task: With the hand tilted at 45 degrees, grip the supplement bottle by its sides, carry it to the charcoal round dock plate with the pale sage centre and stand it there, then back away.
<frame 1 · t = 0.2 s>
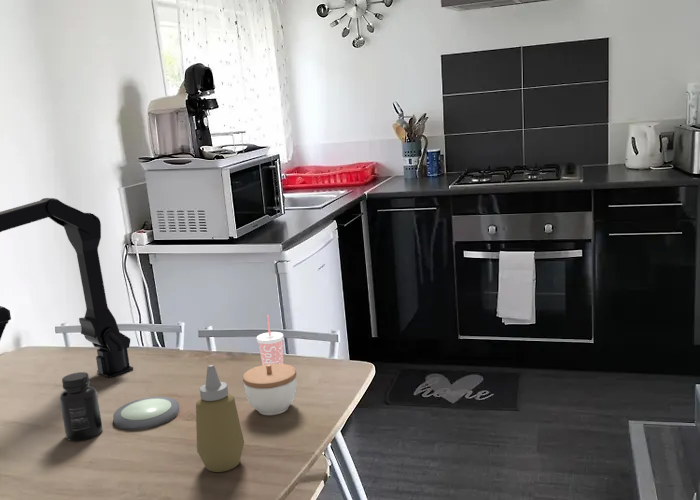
supplement bottle: (84, 434, 134), on the table
dock plate: (147, 415, 141), on the table
squeeze bottle: (223, 465, 118), on the table
beverage cup: (273, 373, 159), on the table
lidded jar: (273, 409, 139), on the table
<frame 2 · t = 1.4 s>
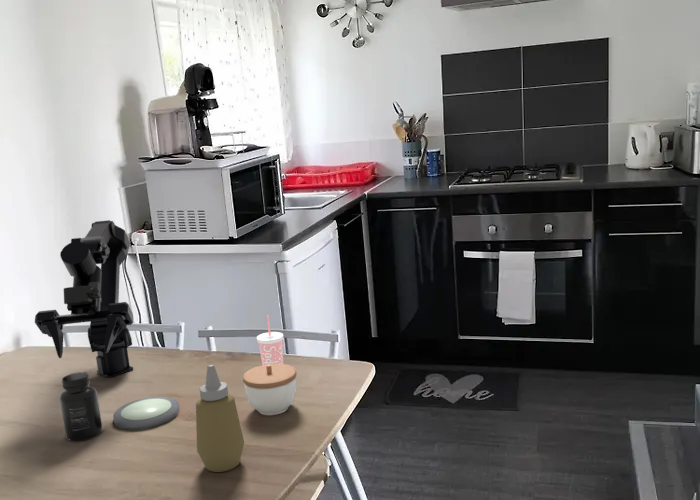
hand: (83, 354, 140), 13 cm above the table, tool tilted 45°, fingers open, 9 cm apart
nothing on the table moved.
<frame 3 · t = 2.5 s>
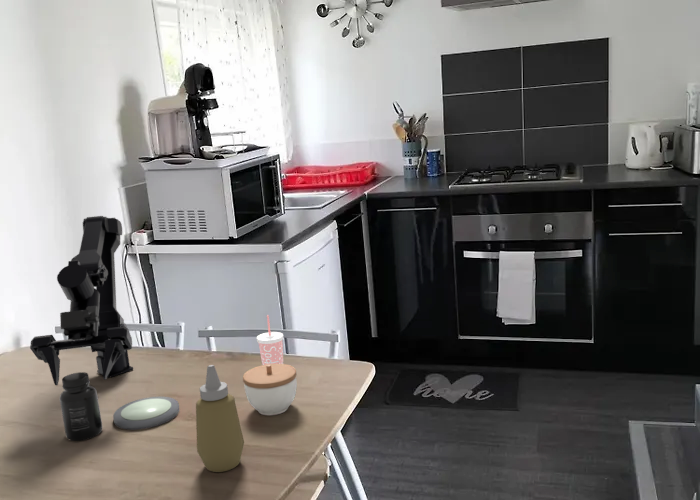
hand: (80, 381, 135), 10 cm above the table, tool tilted 45°, fingers open, 9 cm apart
nothing on the table moved.
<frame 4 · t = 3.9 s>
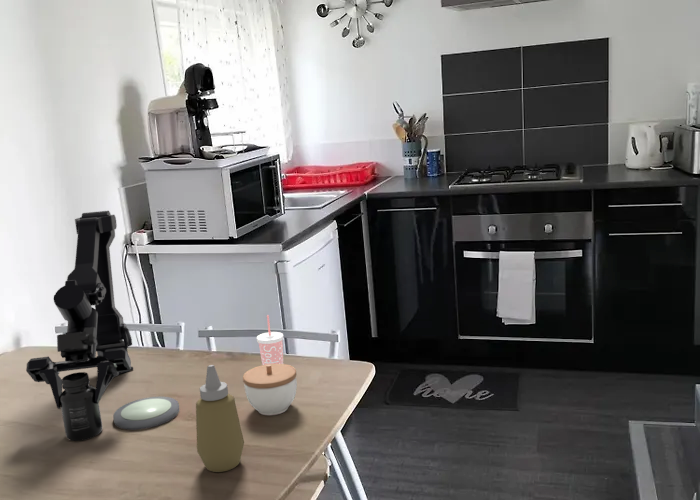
hand: (77, 405, 132), 7 cm above the table, tool tilted 45°, fingers closed on supplement bottle, 7 cm apart
supplement bottle: (84, 434, 134), on the table, touching gripper
everything else where it was.
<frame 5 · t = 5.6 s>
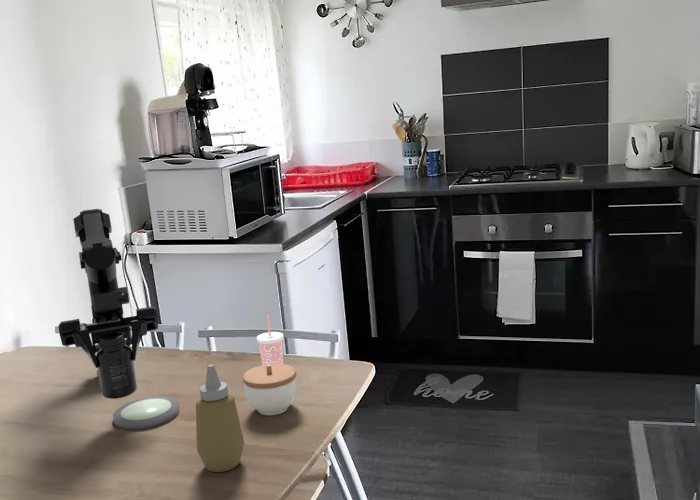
hand: (115, 363, 134), 13 cm above the table, tool tilted 45°, fingers closed on supplement bottle, 7 cm apart
supplement bottle: (119, 393, 137), point 6 cm above the table, touching gripper
everything else where it was.
when the fingers open (9 cm above the table, at t = 7.2 s): supplement bottle stays where it is, resting on dock plate.
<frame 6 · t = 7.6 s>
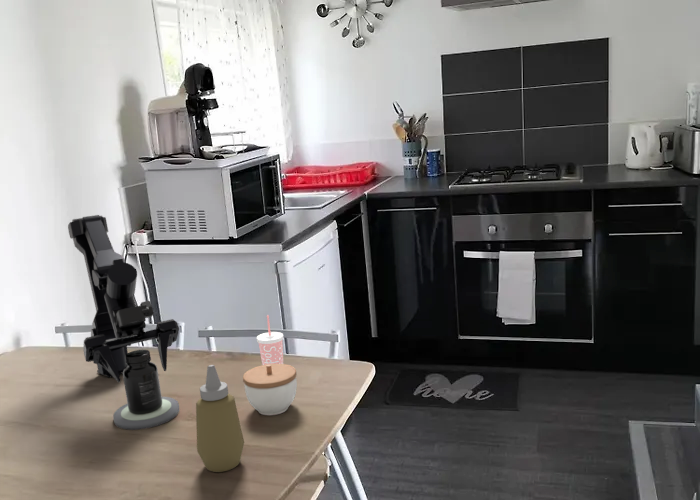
hand: (142, 375, 138), 9 cm above the table, tool tilted 45°, fingers open, 9 cm apart
supplement bottle: (145, 409, 141), point 1 cm above the table, touching dock plate
everything else where it was.
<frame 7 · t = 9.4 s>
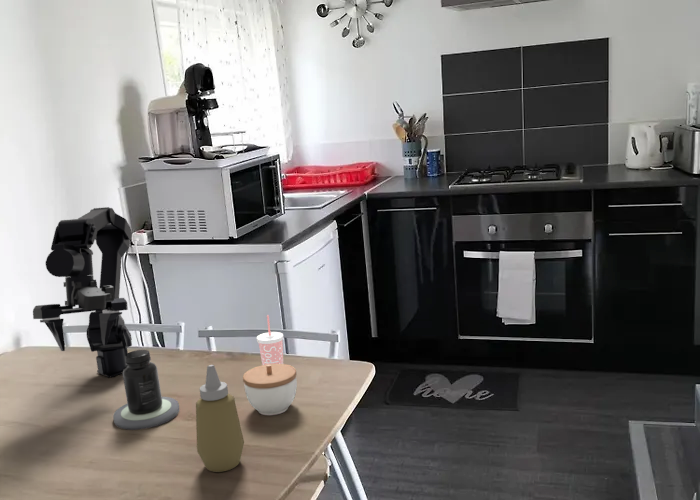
hand: (84, 347, 149), 12 cm above the table, tool pointing down, fingers open, 9 cm apart
nothing on the table moved.
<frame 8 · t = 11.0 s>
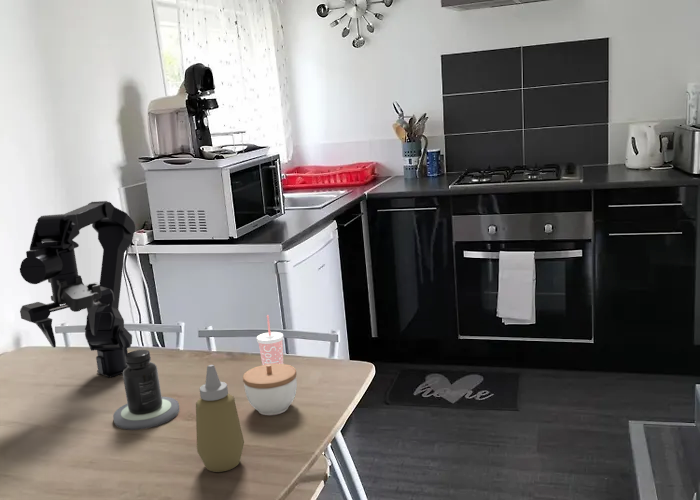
hand: (74, 340, 151), 13 cm above the table, tool pointing down, fingers open, 9 cm apart
nothing on the table moved.
at the end: supplement bottle 0.2 cm from the dock plate (horizontally); supplement bottle tilted 0°; the gripper is holding nothing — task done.
